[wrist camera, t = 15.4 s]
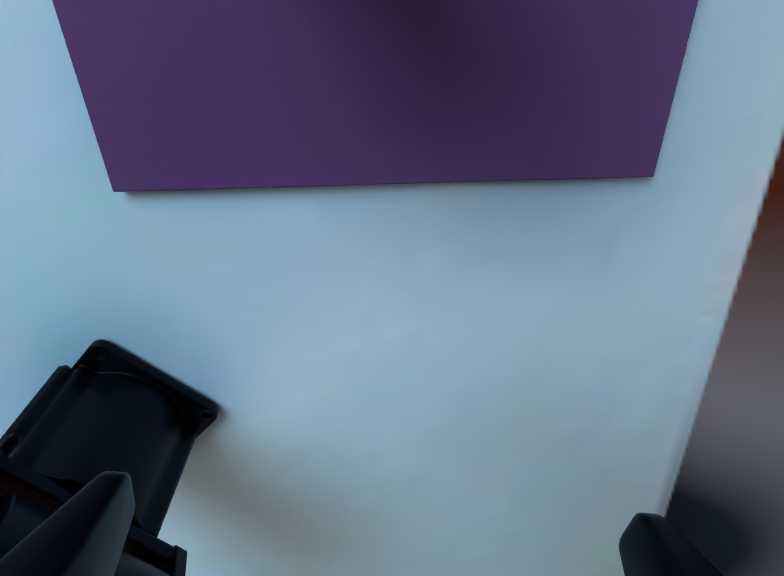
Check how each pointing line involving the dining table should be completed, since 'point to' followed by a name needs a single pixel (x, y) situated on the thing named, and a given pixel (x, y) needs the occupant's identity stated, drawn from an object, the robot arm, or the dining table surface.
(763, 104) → the dining table surface
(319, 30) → the plum mat
